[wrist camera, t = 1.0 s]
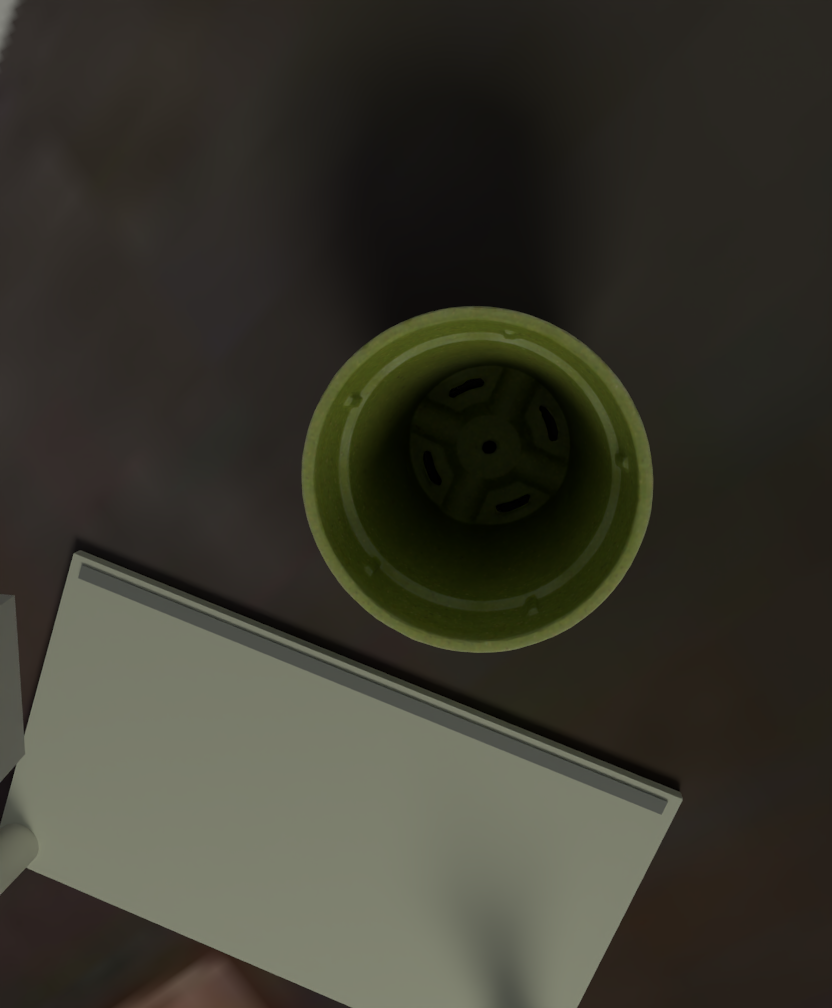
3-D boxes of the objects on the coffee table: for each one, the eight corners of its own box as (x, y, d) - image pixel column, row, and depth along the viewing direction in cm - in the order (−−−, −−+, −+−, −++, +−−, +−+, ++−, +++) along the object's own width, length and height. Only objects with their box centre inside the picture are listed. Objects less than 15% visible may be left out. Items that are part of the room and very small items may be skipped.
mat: (680, 792, 31) (755, 1009, 21) (536, 1076, 35) (541, 1380, 25) (80, 549, 33) (-122, 643, 23) (-1, 846, 36) (-207, 1043, 26)
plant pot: (425, 603, 31) (388, 699, 23) (323, 381, 30) (243, 396, 22) (655, 512, 29) (707, 580, 21) (555, 272, 28) (569, 241, 20)
